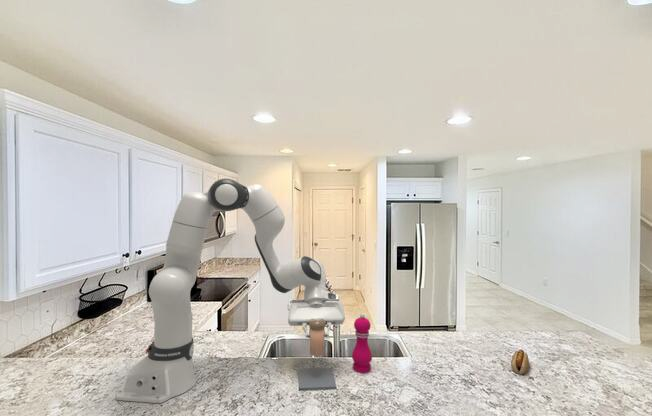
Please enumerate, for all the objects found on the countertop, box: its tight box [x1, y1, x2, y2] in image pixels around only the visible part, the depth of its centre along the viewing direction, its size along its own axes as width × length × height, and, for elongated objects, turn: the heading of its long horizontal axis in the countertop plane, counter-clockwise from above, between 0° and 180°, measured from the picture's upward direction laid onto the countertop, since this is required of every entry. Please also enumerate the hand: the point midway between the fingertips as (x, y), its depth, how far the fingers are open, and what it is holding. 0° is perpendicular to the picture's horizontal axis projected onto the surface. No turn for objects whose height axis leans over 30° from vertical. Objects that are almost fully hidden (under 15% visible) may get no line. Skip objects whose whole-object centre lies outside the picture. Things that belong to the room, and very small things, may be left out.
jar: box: [308, 318, 326, 357], centre depth 104 cm, size 5×5×11 cm
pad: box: [298, 367, 337, 392], centre depth 102 cm, size 12×12×1 cm
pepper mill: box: [351, 313, 373, 374], centre depth 110 cm, size 7×7×20 cm
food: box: [510, 349, 530, 375], centre depth 112 cm, size 14×6×5 cm, turn 143°
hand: (317, 336), depth 103 cm, fingers closed on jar, 5 cm apart
